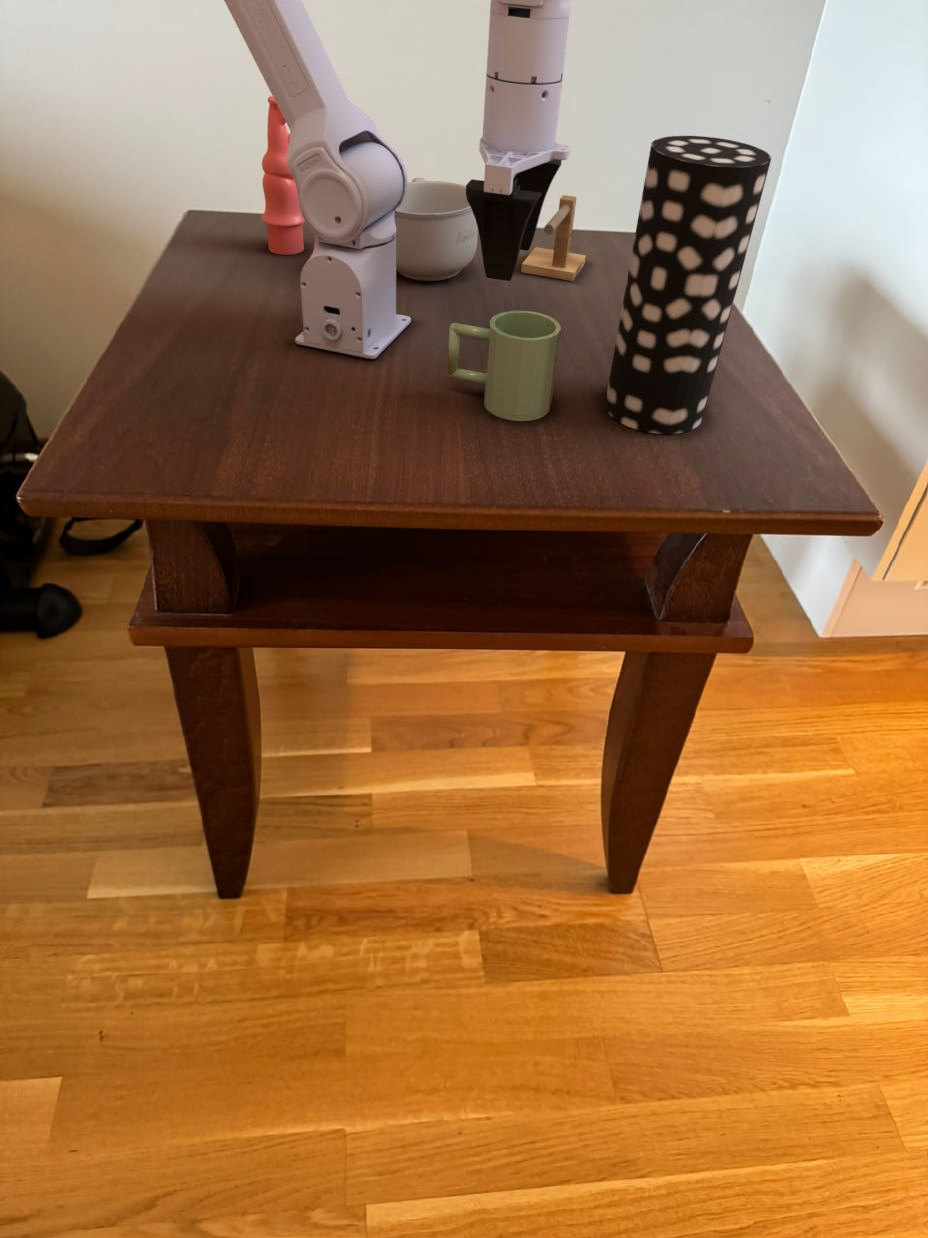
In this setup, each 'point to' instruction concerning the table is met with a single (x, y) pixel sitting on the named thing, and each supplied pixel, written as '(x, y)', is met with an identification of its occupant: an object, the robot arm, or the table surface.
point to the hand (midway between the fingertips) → (508, 262)
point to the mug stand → (557, 247)
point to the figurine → (280, 189)
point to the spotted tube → (683, 279)
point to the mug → (512, 363)
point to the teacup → (434, 231)
